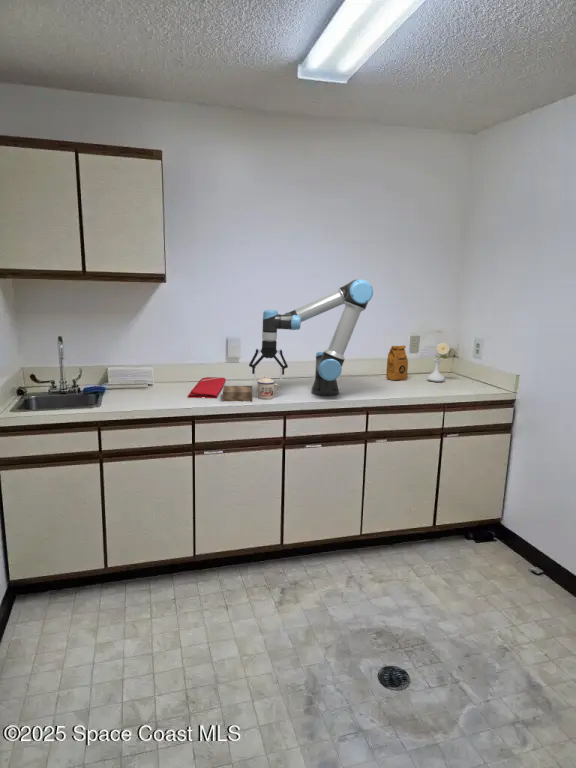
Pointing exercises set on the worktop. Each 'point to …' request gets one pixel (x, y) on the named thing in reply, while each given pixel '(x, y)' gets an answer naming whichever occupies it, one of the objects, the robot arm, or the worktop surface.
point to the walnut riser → (237, 393)
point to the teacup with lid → (266, 388)
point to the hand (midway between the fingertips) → (267, 380)
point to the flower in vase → (436, 376)
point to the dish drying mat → (207, 388)
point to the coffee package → (397, 363)
